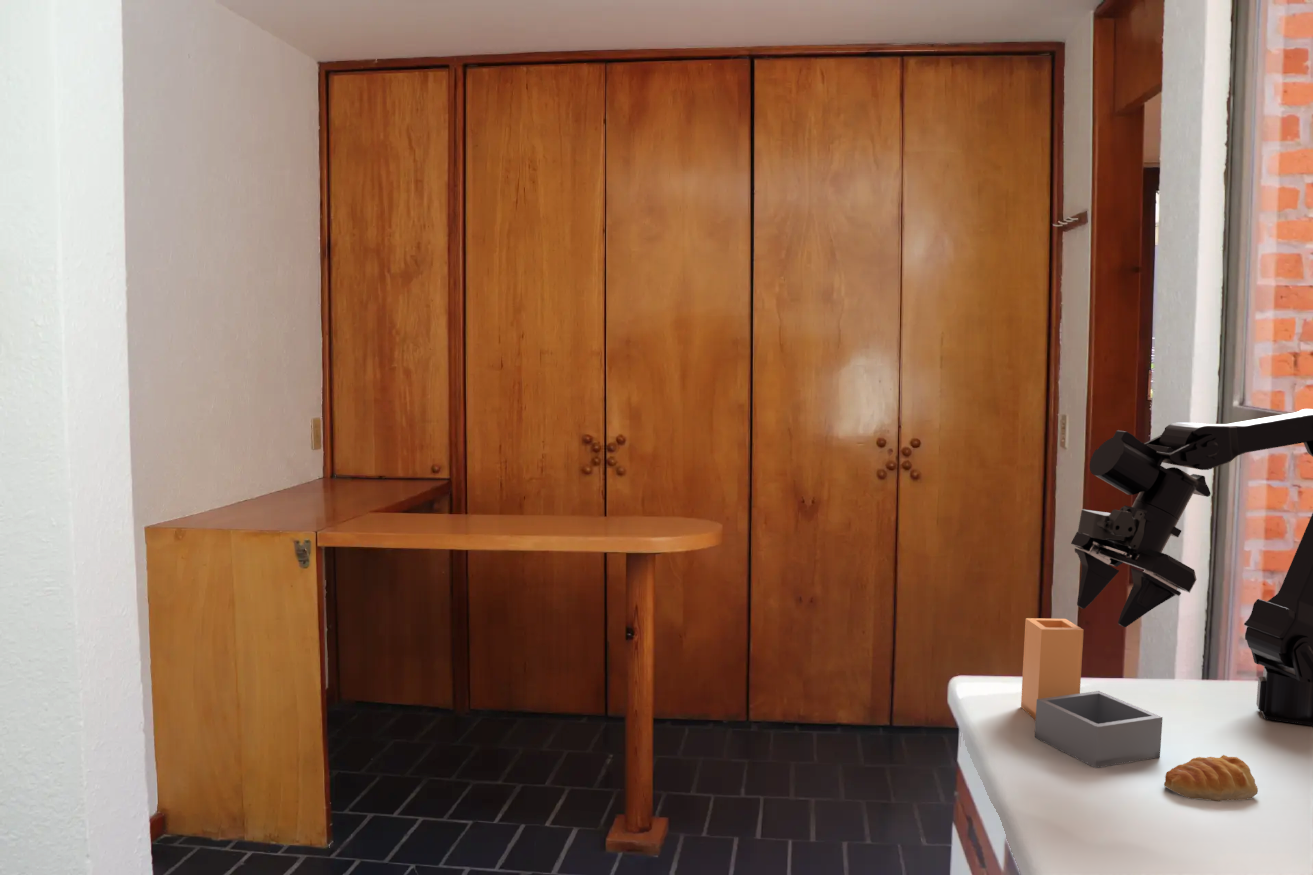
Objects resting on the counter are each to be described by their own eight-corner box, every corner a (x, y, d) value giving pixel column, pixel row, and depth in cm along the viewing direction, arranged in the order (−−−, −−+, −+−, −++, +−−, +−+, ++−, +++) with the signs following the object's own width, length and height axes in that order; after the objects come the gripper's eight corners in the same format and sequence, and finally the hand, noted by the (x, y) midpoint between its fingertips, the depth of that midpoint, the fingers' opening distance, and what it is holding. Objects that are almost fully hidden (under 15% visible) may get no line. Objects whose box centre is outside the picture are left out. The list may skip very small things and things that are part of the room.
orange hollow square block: (1060, 706, 144) (1065, 618, 143) (1078, 721, 139) (1083, 629, 138) (1020, 706, 144) (1025, 618, 143) (1036, 721, 139) (1041, 629, 138)
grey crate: (1096, 727, 137) (1098, 690, 136) (1159, 756, 127) (1162, 717, 127) (1034, 737, 133) (1036, 698, 132) (1095, 767, 123) (1097, 726, 123)
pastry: (1191, 808, 113) (1193, 774, 113) (1148, 783, 120) (1150, 751, 120) (1262, 801, 116) (1265, 767, 115) (1217, 777, 122) (1219, 745, 122)
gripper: (1068, 474, 144) (1014, 573, 144) (1153, 493, 126) (1092, 607, 126) (1131, 510, 146) (1078, 608, 146) (1224, 534, 128) (1164, 646, 128)
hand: (1100, 616), depth 136 cm, fingers open, 9 cm apart
